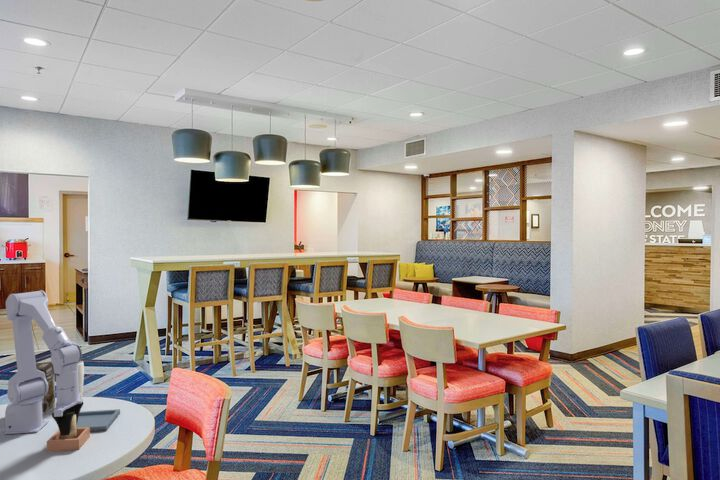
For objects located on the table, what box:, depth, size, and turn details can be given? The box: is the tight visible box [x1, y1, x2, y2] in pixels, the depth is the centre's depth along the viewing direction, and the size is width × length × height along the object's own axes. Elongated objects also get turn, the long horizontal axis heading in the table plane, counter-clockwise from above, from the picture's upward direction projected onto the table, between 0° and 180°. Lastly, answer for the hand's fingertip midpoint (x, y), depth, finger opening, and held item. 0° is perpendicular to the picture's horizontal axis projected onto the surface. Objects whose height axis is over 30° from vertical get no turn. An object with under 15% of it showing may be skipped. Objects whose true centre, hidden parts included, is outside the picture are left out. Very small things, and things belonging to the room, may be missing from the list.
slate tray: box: [76, 408, 121, 433], centre depth 165 cm, size 14×14×2 cm
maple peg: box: [61, 414, 77, 439], centre depth 150 cm, size 4×4×8 cm
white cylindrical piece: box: [78, 360, 85, 400], centre depth 181 cm, size 7×7×15 cm
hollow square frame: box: [46, 427, 91, 453], centre depth 150 cm, size 9×9×3 cm
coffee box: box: [25, 361, 56, 416], centre depth 175 cm, size 9×6×16 cm
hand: (68, 431), depth 150 cm, fingers open, 4 cm apart
